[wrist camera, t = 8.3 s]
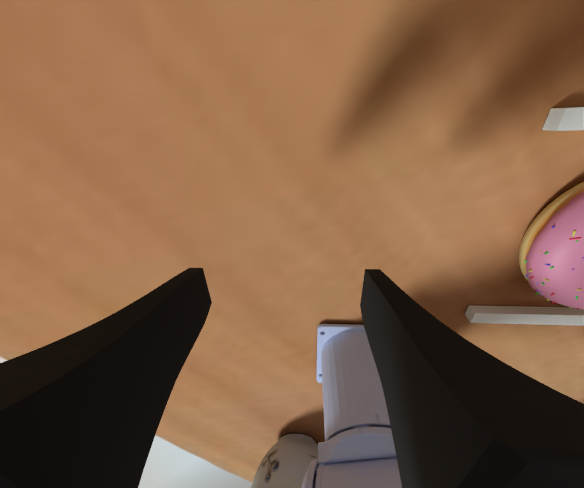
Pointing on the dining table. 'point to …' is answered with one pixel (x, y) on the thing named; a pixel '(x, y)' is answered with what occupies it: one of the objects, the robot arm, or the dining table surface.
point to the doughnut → (557, 250)
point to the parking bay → (537, 315)
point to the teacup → (286, 462)
